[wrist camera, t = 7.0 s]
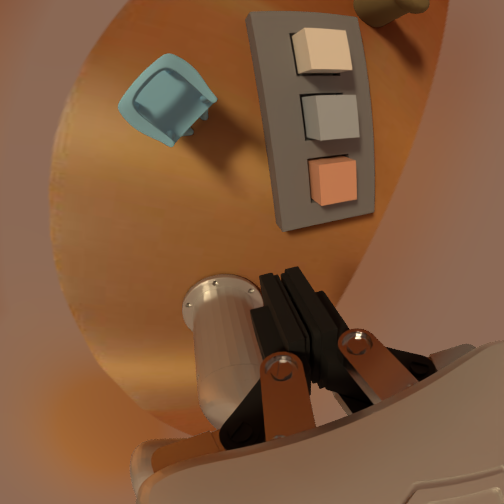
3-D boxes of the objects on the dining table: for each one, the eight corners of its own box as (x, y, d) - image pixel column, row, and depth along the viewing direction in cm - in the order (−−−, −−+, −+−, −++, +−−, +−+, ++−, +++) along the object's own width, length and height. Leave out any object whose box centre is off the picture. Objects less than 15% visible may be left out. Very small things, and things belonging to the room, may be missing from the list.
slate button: (342, 133, 31) (359, 137, 28) (306, 137, 31) (320, 140, 27) (338, 95, 29) (355, 94, 25) (301, 97, 28) (315, 95, 25)
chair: (177, 150, 31) (170, 167, 21) (128, 109, 27) (96, 107, 17) (222, 104, 30) (238, 97, 19) (173, 61, 26) (163, 34, 15)
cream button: (335, 73, 27) (352, 70, 24) (298, 73, 27) (311, 69, 23) (329, 37, 25) (345, 30, 22) (291, 36, 24) (304, 27, 21)
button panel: (363, 205, 40) (374, 212, 37) (276, 223, 38) (282, 231, 36) (346, 22, 26) (357, 17, 23) (245, 19, 25) (249, 12, 22)
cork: (392, 14, 25) (441, 2, 16) (376, 34, 27) (428, 22, 18) (364, -12, 23) (409, -33, 13) (346, 6, 25) (393, -16, 15)
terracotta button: (342, 190, 36) (356, 199, 33) (308, 196, 36) (321, 205, 32) (340, 154, 34) (355, 160, 30) (305, 159, 33) (318, 165, 30)
